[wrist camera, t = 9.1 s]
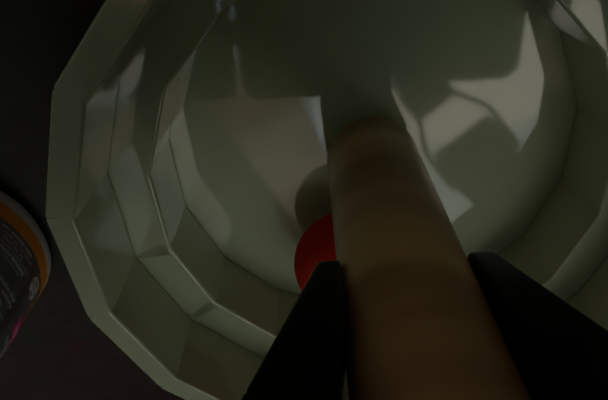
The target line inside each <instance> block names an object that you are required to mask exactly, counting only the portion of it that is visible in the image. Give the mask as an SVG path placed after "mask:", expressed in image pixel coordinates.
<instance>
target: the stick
mask: <svg viewBox="0 0 608 400" xmlns="http://www.w3.org/2000/svg"><path fill="white" fill-rule="evenodd" d="M327 167H328V178H329V189H330V199H331V210H332V221H333V232H334V243H335V254H336V260H338V261H339V262H340V264H341V271H342V279H343V287H344V295H345V312H346V348H345V363H346V374H347V385H348V396H349V400H531V398H530V396H529V393H528V391H527V389H526V387H525V385H524V382H523V380H522V378H521V376H520V374H519V371H518V369H517V367H516V365H515V362H514V360H513V358H512V356H511V354H510V351H509V349H508V347H507V345H506V343H505V340H504V338H503V336H502V334H501V332H500V329H499V327H498V325H497V323H496V321H495V318H494V316H493V314H492V312H491V310H490V307H489V305H488V303H487V301H486V299H485V296H484V294H483V292H482V290H481V288H480V285H479V283H478V281H477V279H476V277H475V274H474V272H473V270H472V268H471V266H470V263H469V261H468V259H467V257H466V255H465V252H464V250H463V248H462V246H461V244H460V241H459V239H458V237H457V235H456V232H455V230H454V228H453V226H452V224H451V221H450V219H449V217H448V215H447V213H446V210H445V208H444V206H443V204H442V202H441V199H440V197H439V195H438V193H437V191H436V188H435V186H434V184H433V182H432V180H431V177H430V175H429V173H428V171H427V169H426V166H425V164H424V162H423V160H422V158H421V155H420V153H419V151H418V149H417V147H416V144H415V142H414V140H413V138H412V136H411V135H410V133H409V132H408V131H407V130H406V129H405V128H404V127H403V126H401V125H400V124H398V123H397V122H395V121H392V120H389V119H386V118H379V117H370V118H364V119H360V120H357V121H355V122H352V123H351V124H349V125H347V126H346V127H345V128H343V129H342V130H341V131H340V132H339V133H338V134H337V135H336V136H335V138H334V139H333V141H332V143H331V145H330V147H329V150H328V155H327Z"/></svg>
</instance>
